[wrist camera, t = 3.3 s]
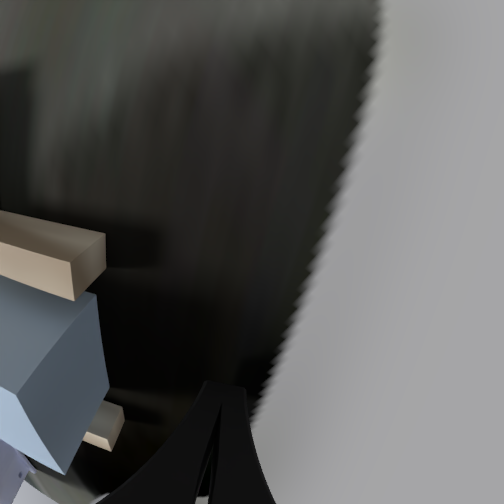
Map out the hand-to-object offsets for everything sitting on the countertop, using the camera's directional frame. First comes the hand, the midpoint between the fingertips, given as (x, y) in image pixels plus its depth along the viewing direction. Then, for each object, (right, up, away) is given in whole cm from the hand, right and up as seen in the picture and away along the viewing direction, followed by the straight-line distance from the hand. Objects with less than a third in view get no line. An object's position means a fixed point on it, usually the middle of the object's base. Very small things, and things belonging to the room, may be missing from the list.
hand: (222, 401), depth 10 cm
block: (-7, +2, +1) cm, 7 cm away
